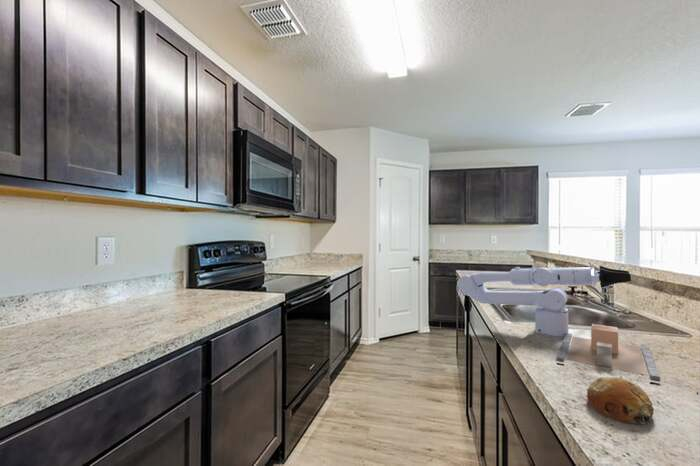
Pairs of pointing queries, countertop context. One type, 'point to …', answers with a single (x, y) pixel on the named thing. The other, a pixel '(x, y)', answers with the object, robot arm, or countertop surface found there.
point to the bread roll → (620, 400)
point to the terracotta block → (604, 336)
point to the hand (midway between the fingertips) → (630, 275)
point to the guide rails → (645, 348)
